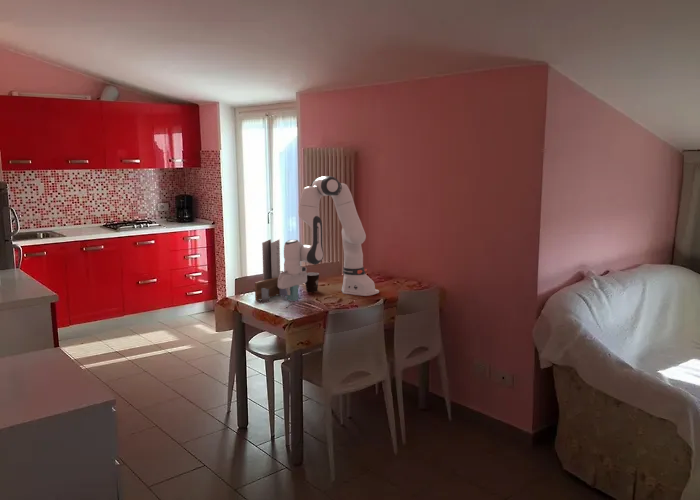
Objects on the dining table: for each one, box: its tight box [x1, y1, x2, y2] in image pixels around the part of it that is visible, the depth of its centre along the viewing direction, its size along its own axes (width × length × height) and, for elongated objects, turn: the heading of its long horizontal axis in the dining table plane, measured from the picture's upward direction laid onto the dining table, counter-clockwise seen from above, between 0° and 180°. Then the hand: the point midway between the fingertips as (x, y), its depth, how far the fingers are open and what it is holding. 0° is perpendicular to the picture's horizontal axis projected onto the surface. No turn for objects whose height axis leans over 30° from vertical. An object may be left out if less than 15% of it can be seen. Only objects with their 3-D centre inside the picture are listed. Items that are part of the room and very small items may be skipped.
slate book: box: [279, 288, 287, 298], centre depth 336 cm, size 5×4×8 cm
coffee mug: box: [305, 272, 320, 293], centre depth 347 cm, size 12×9×10 cm
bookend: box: [255, 288, 270, 304], centre depth 322 cm, size 5×5×7 cm
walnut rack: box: [254, 277, 280, 301], centre depth 333 cm, size 8×25×10 cm, turn 142°
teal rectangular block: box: [286, 285, 299, 302], centre depth 327 cm, size 5×4×8 cm
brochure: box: [261, 238, 281, 281], centre depth 343 cm, size 14×6×30 cm, turn 168°
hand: (292, 294), depth 327 cm, fingers closed on teal rectangular block, 4 cm apart
